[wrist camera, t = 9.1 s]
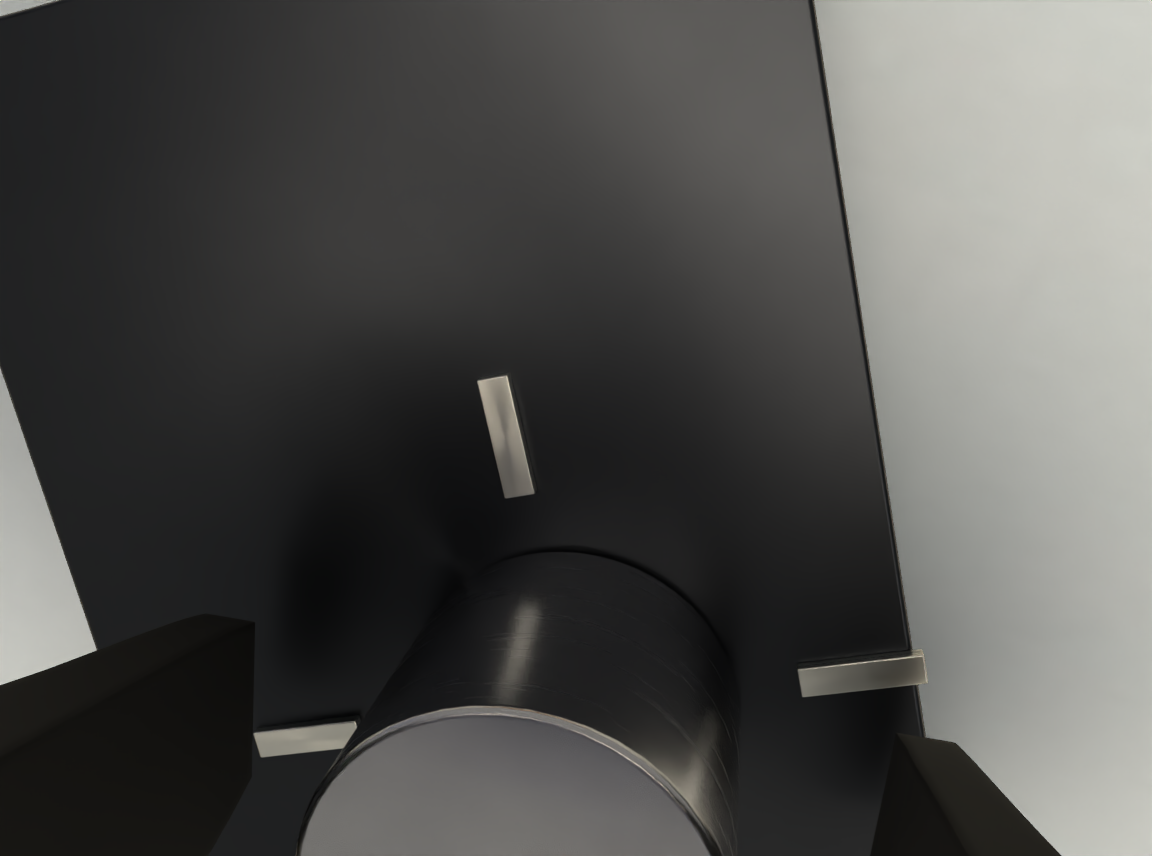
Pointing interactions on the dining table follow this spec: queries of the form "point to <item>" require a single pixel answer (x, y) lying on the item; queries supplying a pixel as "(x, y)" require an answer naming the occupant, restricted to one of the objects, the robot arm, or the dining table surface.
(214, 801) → the robot arm
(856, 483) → the black knob base
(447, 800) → the hob knob
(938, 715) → the dining table surface
